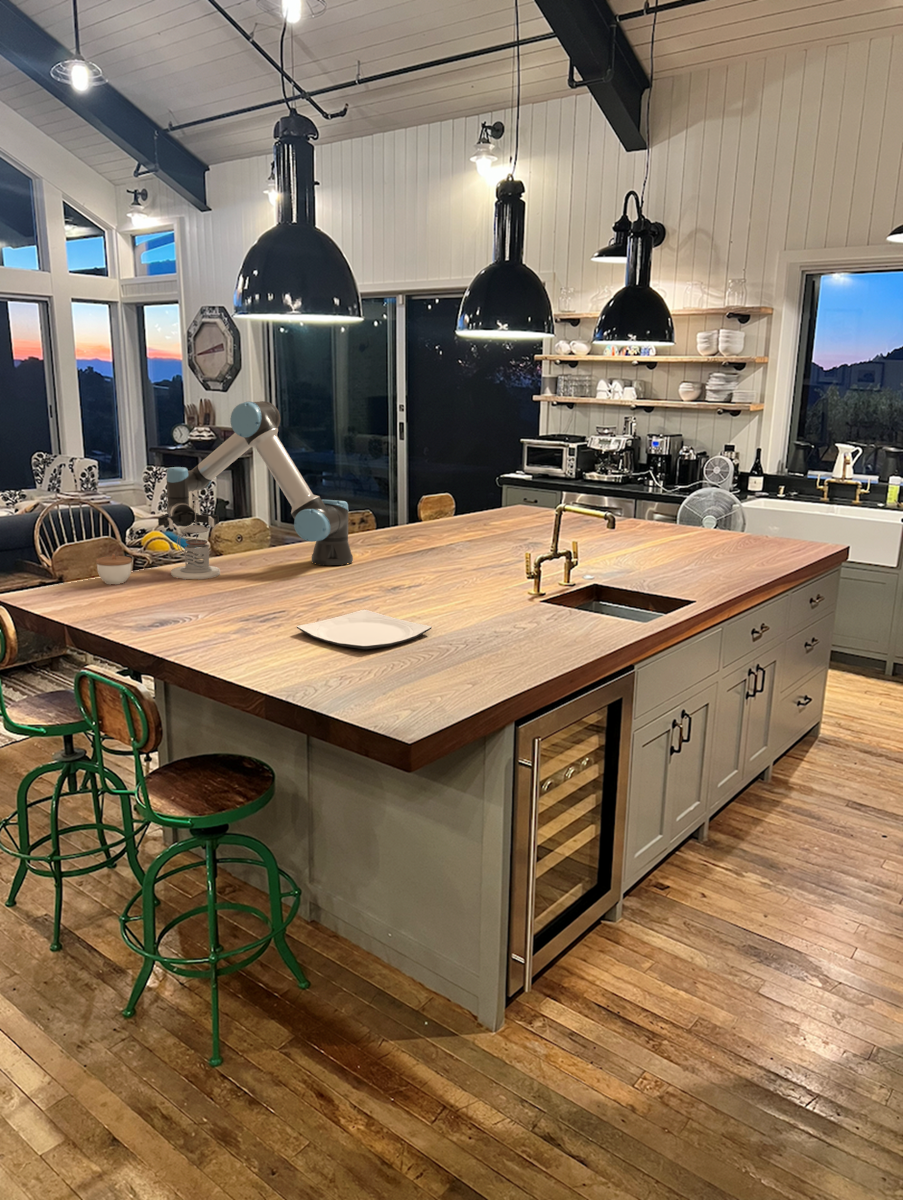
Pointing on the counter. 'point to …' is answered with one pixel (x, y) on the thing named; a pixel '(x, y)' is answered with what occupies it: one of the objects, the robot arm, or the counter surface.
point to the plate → (364, 630)
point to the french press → (196, 549)
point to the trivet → (187, 575)
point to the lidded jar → (114, 568)
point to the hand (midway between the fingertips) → (192, 524)
